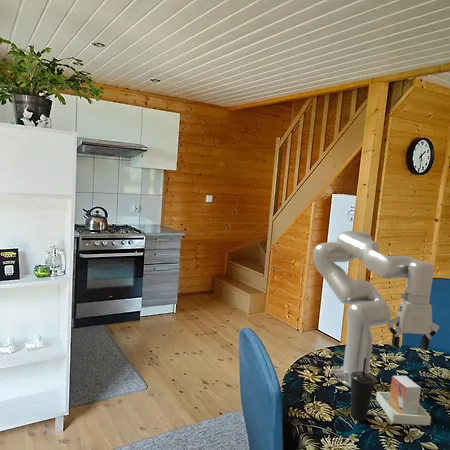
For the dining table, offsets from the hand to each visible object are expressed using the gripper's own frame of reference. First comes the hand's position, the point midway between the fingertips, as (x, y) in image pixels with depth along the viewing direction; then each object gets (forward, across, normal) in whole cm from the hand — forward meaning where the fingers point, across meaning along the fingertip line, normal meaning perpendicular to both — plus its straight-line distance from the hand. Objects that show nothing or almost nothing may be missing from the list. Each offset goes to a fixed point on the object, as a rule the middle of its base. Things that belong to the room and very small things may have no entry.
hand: (409, 347), depth 133 cm
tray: (+23, 0, 0) cm, 23 cm away
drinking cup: (+23, -16, -5) cm, 29 cm away
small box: (+22, 0, 0) cm, 22 cm away
